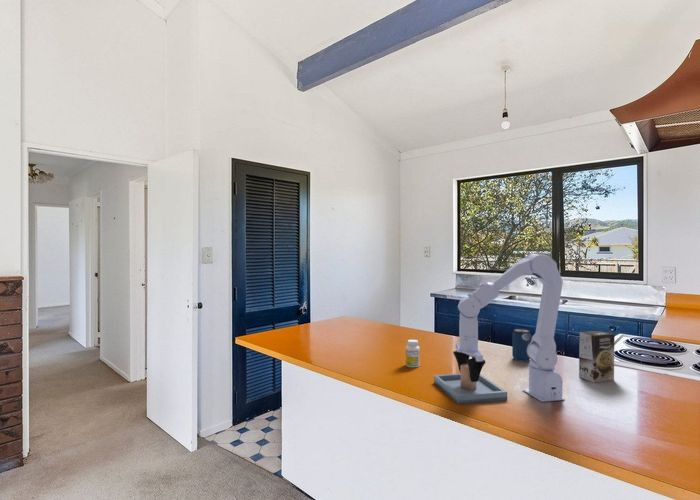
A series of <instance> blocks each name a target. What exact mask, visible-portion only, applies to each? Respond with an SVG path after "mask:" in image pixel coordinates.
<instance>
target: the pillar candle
mask: <svg viewBox="0 0 700 500" xmlns="http://www.w3.org/2000/svg"><path fill="white" fill-rule="evenodd" d="M459 374H460V387H461V388H462V389H464V390H468V391H473V390H476V389H477V382H471V379H470V371H469V367H468V364H461V365H460V372H459Z"/></svg>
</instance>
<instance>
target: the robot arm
mask: <svg viewBox="0 0 700 500" xmlns="http://www.w3.org/2000/svg"><path fill="white" fill-rule="evenodd" d="M524 276H525V277H526V276H534V277H536V279H538V280H539V281H540V283H541V284H542V289H541V297H540V302H539V308H538V309H539V311H538V316H537V320H536V327H535V333H534V334H533V335H532V336H531V343H530V344H529V345H528V347H527V354H528V356H529V357H530V360H529V361H528V387H525V388H522V391H523V392H525V393H526V394H528V395H530V396H532V397H533V398H535V399H536V400H538V401H539V402H542V403H544V402H553V401H565V397H564V396H563V378H562V376H561V375H560V374H559V373H558V372H557V370H556V368H555V366H557V363H558V355H557V345H556V341H555V333H556V325H557V321H558V316H559V315H558V314H559V307H560V302H561V295H562V289H563V285H564V283H563V278H562V276H561V273H560V271H559V269H558V264H557V262H556V260H554V259H553V258H552V257H551V256H550V255H547V254H543V253H542V254H537V253H535V252H534V253H529V254H527V255H526V256H525V257H523V258H521V259H519V260H517V262H515V263H514V264H513V265H511V266H510V267H509V268H508V269H507V270H506V271H504V272H503V273H502V274H501V275H500V276H499V277H497V278H496V279H494V281H492V282H488V281H487V282H484V283H483V282H481V283H480V284H479V285H478V286H479V287H478V288H476V289H475V290H473V292H471V293H470V292H469V293H467V296H465V297H463V298H461V299H460V300H459V302H458V305H457V310H458V311H459V323H458V324H459V325H458V326H459V328H458V329H459V331H458V332H459V333H458V334H459V341H458V342H456V343H455V350H454V351H453V352H452V353H453V356H454V358H455V360H456V363H457V366H458V371H459V373H460V365H461V364H468V367H469V371H470V379H471V382H478V380H479V376H480V374H481V372H482V369H483V367H484V365H486V360H485V359H484V355H483V354H482V353H481V352H480V349H479V321H478V315H479V313H480V311H481V309H483V308H484V307H486V306H487V305H489V304H490V303H492V302H493V301H494V300H495V299H497V298H499V293H500V290H503V289H504V288H505V287H508V285H509V284H511V283H512V282H514V281H516V280H517V279H518V278H520V277H524ZM470 357H471V358H470Z"/></svg>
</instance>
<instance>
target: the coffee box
mask: <svg viewBox="0 0 700 500" xmlns="http://www.w3.org/2000/svg"><path fill="white" fill-rule="evenodd" d="M578 345H579V350H578V353H579V355H578V356H579V357H578V377H579V378H582V379H583V380H586V381H587V382H588V381H589V382H591V383H594V384H595V383H601V382H611V381H614V380H615V333H611V332H606V331H602V330H601V331H600V330H594V331H593V330H592V331H589V330H588V331H580V332H579V344H578Z"/></svg>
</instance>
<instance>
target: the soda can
mask: <svg viewBox="0 0 700 500" xmlns="http://www.w3.org/2000/svg"><path fill="white" fill-rule="evenodd" d="M531 340H532V335H531V332H530V330H529V329H526V328H514V329H513V332H512V340H511V341H512V342H511V343H512V344H511V345H512V349H511V350H512V351H511V353H512V358H513V359H514V360H515V361H517V362H525V363H526V362H530V360H531V358H530V357H529V356H528V354H527V347H528V345H529V344H530V343H531Z"/></svg>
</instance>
